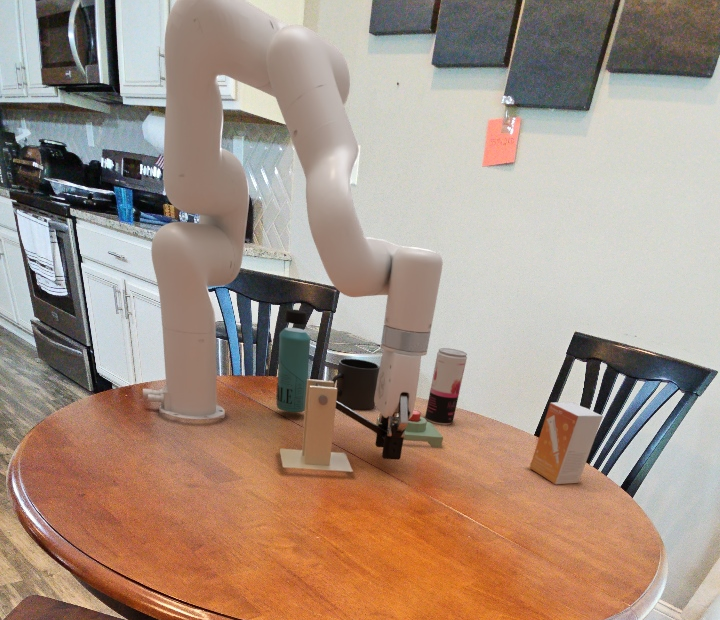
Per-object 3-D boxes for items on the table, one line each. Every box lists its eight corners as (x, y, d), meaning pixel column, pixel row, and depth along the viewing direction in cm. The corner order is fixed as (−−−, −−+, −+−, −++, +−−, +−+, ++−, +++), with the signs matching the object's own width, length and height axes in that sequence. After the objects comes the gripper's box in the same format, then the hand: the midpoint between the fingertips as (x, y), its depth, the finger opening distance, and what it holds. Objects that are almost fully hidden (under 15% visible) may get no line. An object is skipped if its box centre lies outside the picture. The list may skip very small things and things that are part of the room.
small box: (528, 468, 118) (549, 401, 110) (552, 467, 120) (574, 401, 112) (554, 485, 112) (578, 415, 104) (579, 483, 115) (604, 415, 107)
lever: (386, 440, 105) (394, 428, 104) (392, 450, 101) (400, 438, 100) (308, 393, 98) (315, 380, 97) (311, 401, 94) (319, 388, 93)
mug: (317, 400, 138) (321, 359, 132) (358, 397, 144) (363, 358, 139) (341, 412, 132) (345, 369, 127) (382, 409, 139) (388, 368, 133)
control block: (385, 443, 119) (388, 423, 116) (375, 427, 126) (378, 408, 124) (441, 447, 121) (445, 428, 119) (428, 432, 129) (432, 413, 127)
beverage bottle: (308, 413, 128) (315, 310, 116) (302, 422, 123) (310, 315, 111) (278, 408, 128) (283, 305, 116) (272, 417, 123) (276, 309, 111)
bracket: (344, 459, 108) (353, 380, 100) (352, 478, 101) (362, 394, 93) (279, 454, 106) (283, 373, 97) (282, 474, 99) (287, 387, 90)
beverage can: (455, 426, 135) (471, 356, 126) (428, 424, 134) (442, 353, 125) (448, 418, 140) (462, 349, 131) (422, 415, 139) (435, 346, 130)
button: (404, 422, 120) (405, 413, 119) (400, 416, 123) (401, 408, 122) (421, 423, 121) (422, 415, 120) (416, 418, 123) (418, 409, 122)
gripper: (372, 327, 99) (358, 435, 110) (394, 349, 86) (376, 469, 97) (414, 332, 101) (396, 438, 112) (442, 355, 88) (419, 472, 98)
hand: (387, 451), depth 104 cm, fingers closed on lever, 5 cm apart
